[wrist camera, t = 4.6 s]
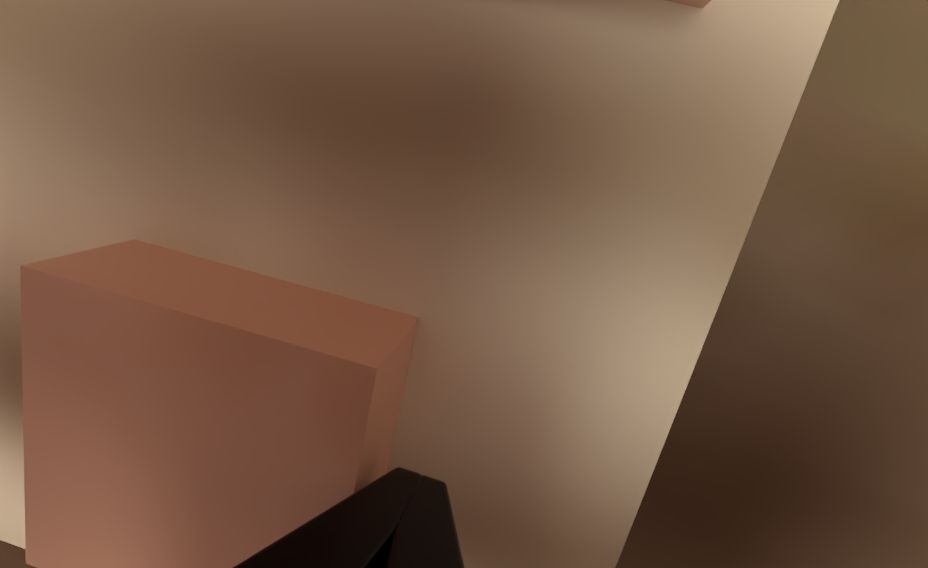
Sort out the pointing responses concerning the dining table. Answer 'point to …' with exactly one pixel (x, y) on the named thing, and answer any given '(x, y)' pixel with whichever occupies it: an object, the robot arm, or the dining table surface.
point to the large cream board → (427, 207)
